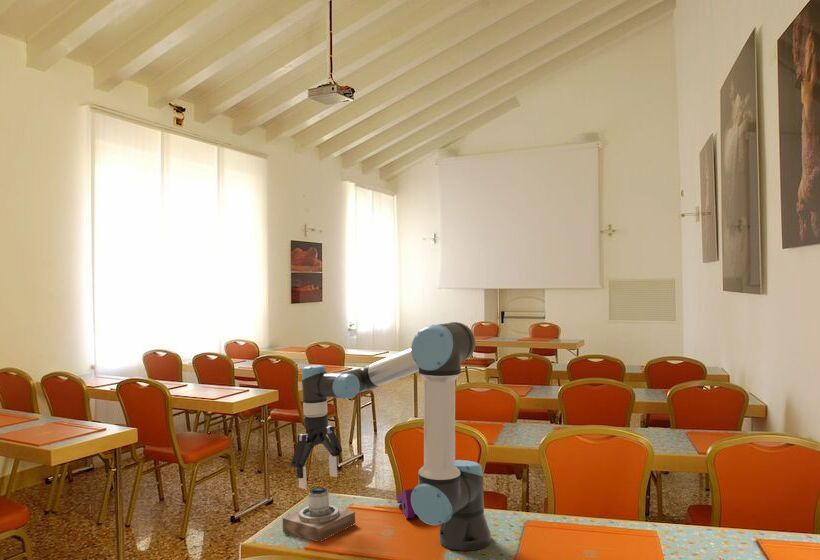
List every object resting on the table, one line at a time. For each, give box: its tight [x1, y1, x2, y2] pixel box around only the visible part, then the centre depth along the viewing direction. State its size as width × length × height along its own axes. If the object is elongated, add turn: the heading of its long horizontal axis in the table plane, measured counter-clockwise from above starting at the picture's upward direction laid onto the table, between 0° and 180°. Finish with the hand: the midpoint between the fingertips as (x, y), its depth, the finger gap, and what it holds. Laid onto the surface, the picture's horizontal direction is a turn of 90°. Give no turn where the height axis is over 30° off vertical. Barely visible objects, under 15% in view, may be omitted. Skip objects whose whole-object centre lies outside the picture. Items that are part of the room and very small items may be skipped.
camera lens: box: [307, 486, 330, 517], centre depth 199 cm, size 6×6×8 cm
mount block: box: [282, 503, 356, 542], centre depth 199 cm, size 16×16×5 cm
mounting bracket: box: [395, 488, 416, 520], centre depth 211 cm, size 9×8×18 cm
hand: (318, 482), depth 199 cm, fingers open, 13 cm apart
